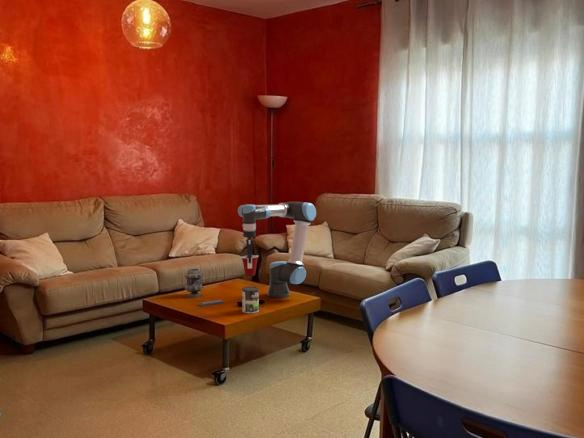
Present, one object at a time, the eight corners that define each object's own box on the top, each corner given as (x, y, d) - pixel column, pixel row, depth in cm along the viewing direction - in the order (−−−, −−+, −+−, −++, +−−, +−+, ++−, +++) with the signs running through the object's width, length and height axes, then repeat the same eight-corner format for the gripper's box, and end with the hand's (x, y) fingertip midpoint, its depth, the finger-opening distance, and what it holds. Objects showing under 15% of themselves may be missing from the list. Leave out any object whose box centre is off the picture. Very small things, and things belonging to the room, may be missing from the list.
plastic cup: (251, 272, 341) (251, 253, 339) (262, 275, 333) (262, 255, 331) (237, 275, 334) (237, 255, 332) (248, 278, 326) (247, 258, 324)
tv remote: (221, 302, 357) (220, 299, 357) (223, 303, 353) (223, 300, 353) (199, 305, 350) (198, 302, 350) (201, 307, 346) (201, 304, 346)
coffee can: (262, 310, 337) (262, 288, 335) (251, 314, 329) (251, 291, 327) (249, 307, 343) (249, 285, 341) (238, 311, 335) (238, 288, 333)
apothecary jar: (204, 293, 379) (203, 267, 377) (202, 297, 367) (201, 271, 365) (186, 293, 378) (186, 267, 376) (183, 298, 366) (183, 271, 364)
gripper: (243, 227, 341) (243, 262, 344) (242, 233, 318) (243, 270, 321) (255, 227, 342) (255, 262, 344) (255, 233, 319) (256, 270, 321)
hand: (249, 266), depth 333 cm, fingers closed on plastic cup, 11 cm apart
